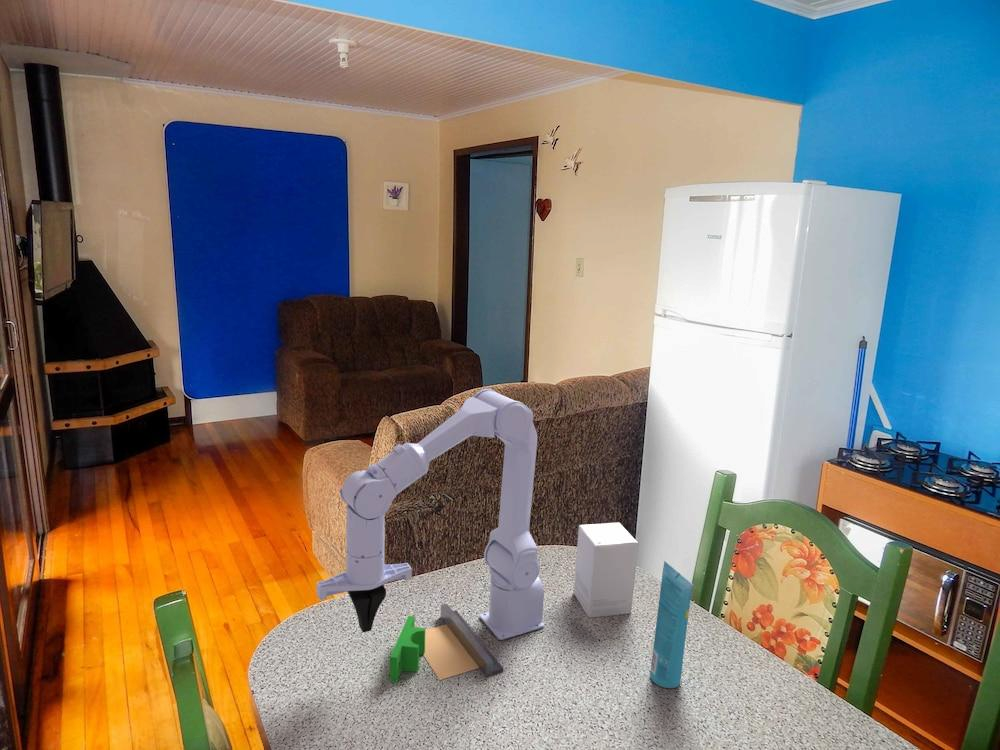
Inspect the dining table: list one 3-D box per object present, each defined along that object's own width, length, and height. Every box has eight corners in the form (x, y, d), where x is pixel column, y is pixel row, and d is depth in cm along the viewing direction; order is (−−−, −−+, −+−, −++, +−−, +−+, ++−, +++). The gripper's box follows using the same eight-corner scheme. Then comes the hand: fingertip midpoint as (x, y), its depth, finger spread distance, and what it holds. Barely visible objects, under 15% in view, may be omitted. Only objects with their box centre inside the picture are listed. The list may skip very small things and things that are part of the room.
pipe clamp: (413, 685, 102) (413, 659, 101) (389, 682, 102) (389, 657, 101) (429, 640, 113) (429, 617, 112) (408, 638, 113) (408, 614, 112)
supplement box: (632, 614, 123) (640, 542, 120) (588, 619, 121) (595, 546, 118) (614, 588, 132) (620, 521, 129) (572, 592, 130) (577, 523, 127)
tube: (691, 689, 104) (705, 581, 100) (668, 697, 102) (681, 587, 97) (661, 661, 110) (673, 558, 106) (638, 668, 108) (649, 564, 104)
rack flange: (456, 613, 121) (456, 601, 121) (503, 671, 106) (504, 657, 105) (404, 627, 116) (404, 614, 116) (446, 690, 101) (446, 676, 100)
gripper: (401, 529, 106) (399, 603, 109) (311, 546, 99) (312, 625, 102) (417, 548, 100) (415, 626, 103) (322, 568, 93) (323, 651, 96)
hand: (365, 628), depth 102 cm, fingers closed
